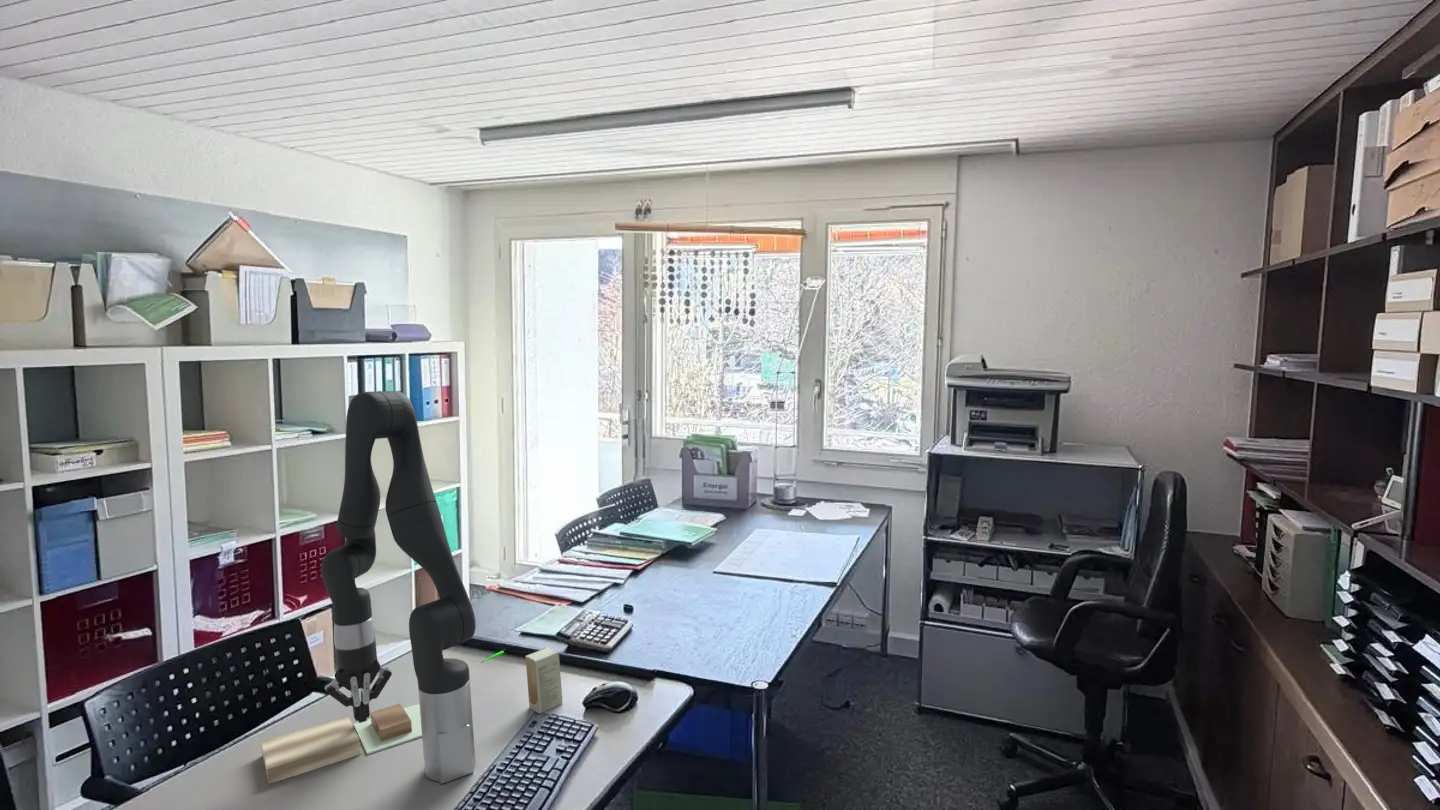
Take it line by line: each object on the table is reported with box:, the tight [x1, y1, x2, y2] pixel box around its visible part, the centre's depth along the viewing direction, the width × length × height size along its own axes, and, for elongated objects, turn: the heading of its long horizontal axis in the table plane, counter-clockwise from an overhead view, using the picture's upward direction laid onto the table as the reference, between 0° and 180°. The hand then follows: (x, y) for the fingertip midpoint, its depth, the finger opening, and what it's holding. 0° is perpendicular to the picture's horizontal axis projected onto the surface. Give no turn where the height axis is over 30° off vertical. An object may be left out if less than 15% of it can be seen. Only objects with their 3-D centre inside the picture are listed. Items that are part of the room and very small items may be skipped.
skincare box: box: [525, 646, 563, 714], centre depth 170 cm, size 6×4×12 cm
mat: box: [353, 703, 422, 755], centre depth 165 cm, size 14×20×1 cm
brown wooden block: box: [370, 703, 412, 742], centre depth 163 cm, size 9×6×2 cm, turn 36°
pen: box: [480, 650, 505, 663], centre depth 199 cm, size 1×14×1 cm, turn 144°
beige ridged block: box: [260, 715, 362, 785], centre depth 154 cm, size 12×16×3 cm
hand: (362, 720), depth 159 cm, fingers closed
